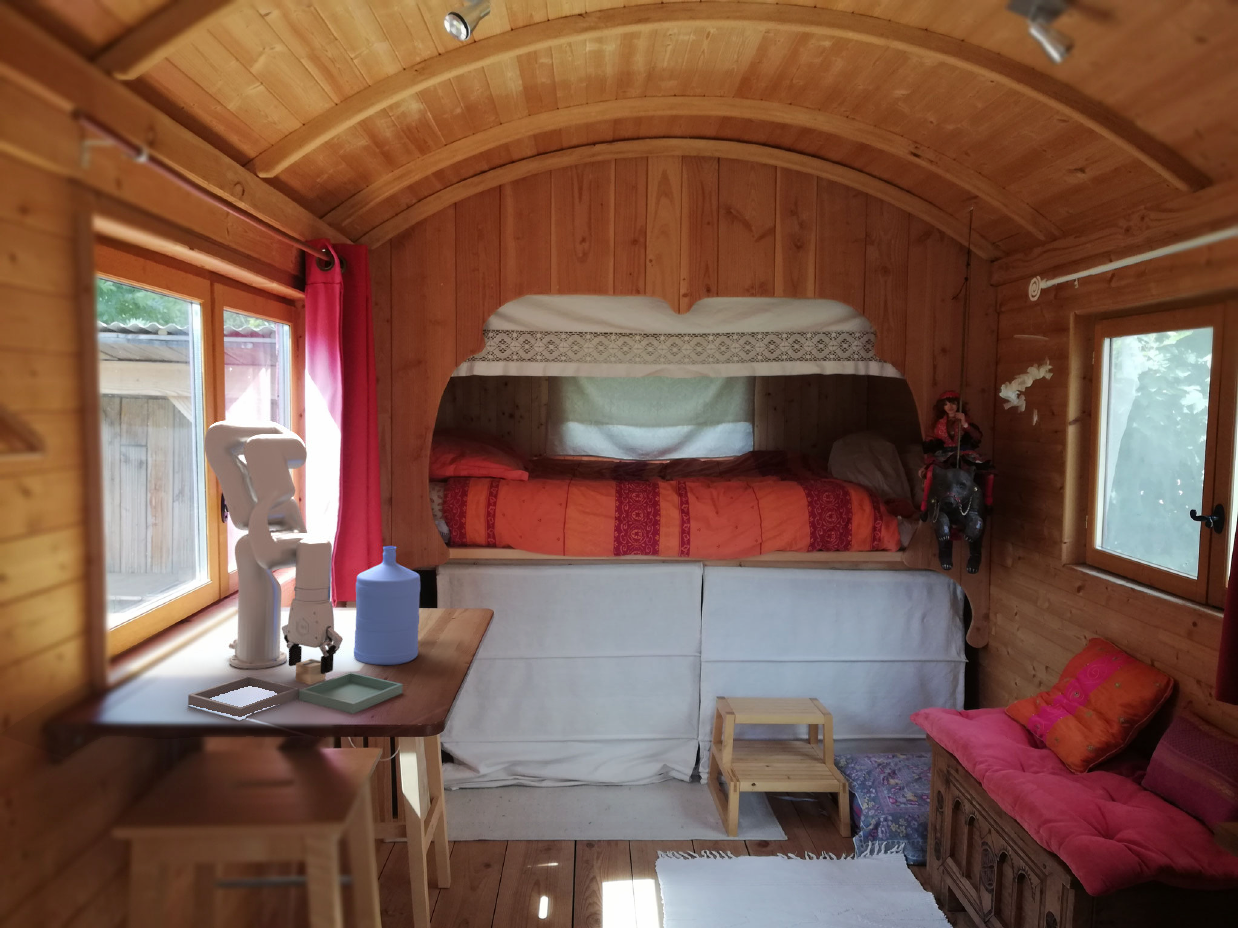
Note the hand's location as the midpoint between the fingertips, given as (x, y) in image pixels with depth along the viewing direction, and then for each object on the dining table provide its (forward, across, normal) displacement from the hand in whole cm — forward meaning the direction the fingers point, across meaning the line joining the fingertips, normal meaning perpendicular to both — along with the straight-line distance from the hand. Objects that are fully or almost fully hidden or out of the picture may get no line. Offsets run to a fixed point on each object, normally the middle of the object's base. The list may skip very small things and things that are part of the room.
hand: (310, 668), depth 189 cm
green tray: (+3, +15, -3) cm, 16 cm away
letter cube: (+3, 0, 0) cm, 3 cm away
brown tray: (+3, -1, -17) cm, 17 cm away
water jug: (+3, +1, +24) cm, 24 cm away
